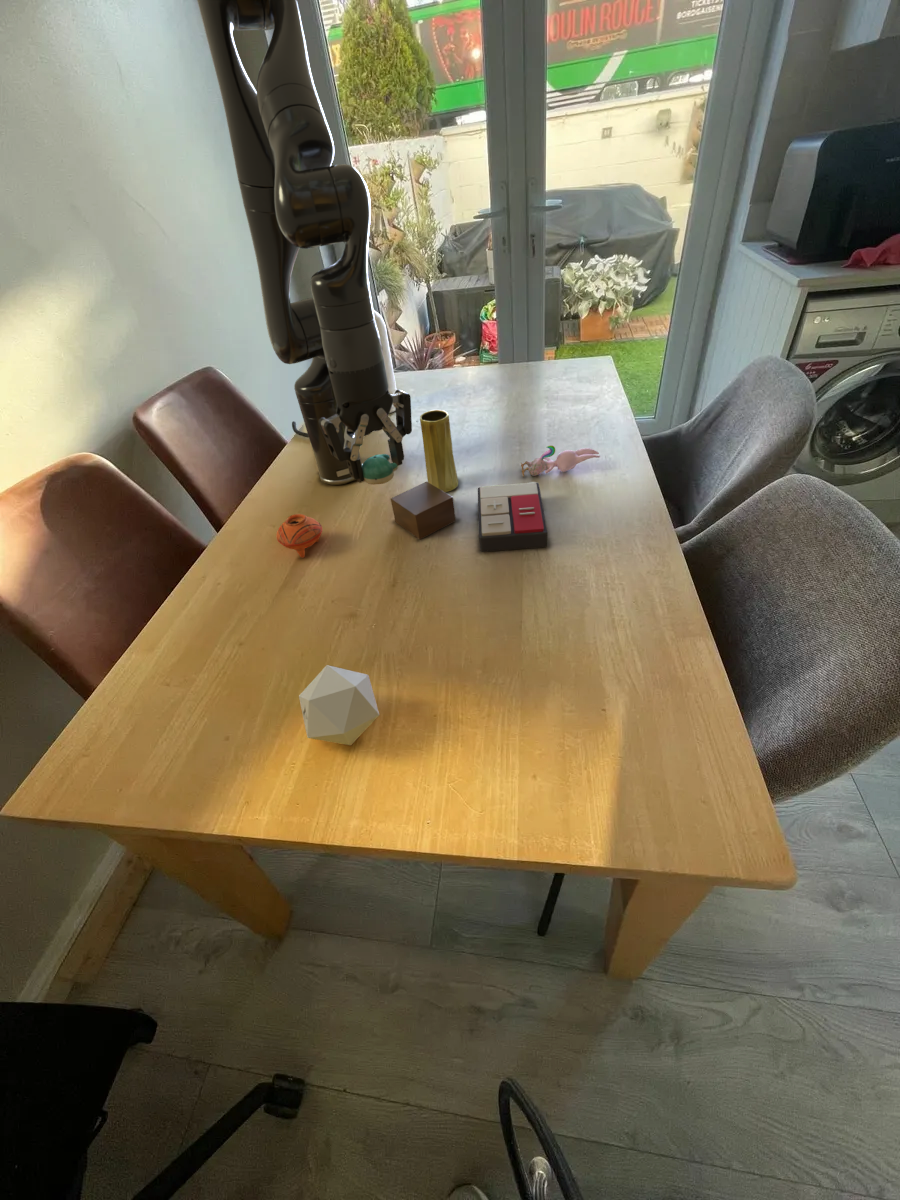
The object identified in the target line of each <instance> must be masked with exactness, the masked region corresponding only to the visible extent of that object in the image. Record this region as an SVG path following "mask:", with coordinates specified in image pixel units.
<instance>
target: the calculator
mask: <svg viewBox="0 0 900 1200" xmlns="http://www.w3.org/2000/svg"><path fill="white" fill-rule="evenodd" d="M542 499H543V498H542V494H541V489H540V484H539V482H536V481H532V482H520V483H508V484H497V485H485V486H483V485H482V486H479V487H477V514H478V515H477V516H478V519H477V521H478V540H479V541H478V542H479V551H480V552H482V553H483V552H484V553H485V552H496V551H497V552H498V551H499V552H500V551H512V550H526V549H527V550H528V549H539V548H541V549H542V548H546V547H547V546H548V528H547V523H546V517H545V512H544V506H543V500H542Z"/></svg>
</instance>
